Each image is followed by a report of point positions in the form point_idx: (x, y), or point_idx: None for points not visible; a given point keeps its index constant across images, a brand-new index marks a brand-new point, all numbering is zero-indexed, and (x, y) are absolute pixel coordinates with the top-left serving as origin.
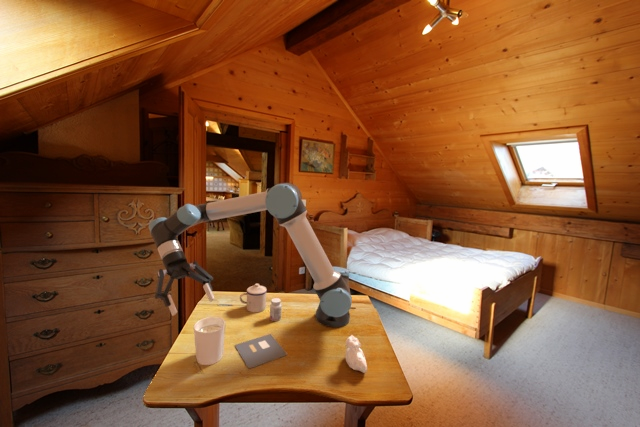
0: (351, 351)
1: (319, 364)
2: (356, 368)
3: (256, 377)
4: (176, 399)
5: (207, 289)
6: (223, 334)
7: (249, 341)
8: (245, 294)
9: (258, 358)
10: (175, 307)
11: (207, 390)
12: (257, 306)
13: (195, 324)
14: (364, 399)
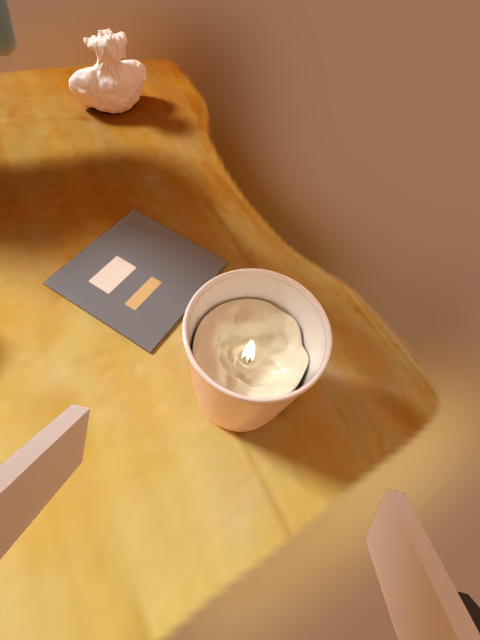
0: (120, 68)
1: (140, 152)
2: (141, 90)
3: (242, 237)
4: (397, 348)
5: (13, 497)
6: (231, 296)
7: (112, 320)
8: None
9: (181, 259)
10: (403, 519)
11: (335, 305)
12: None
13: (297, 389)
14: (199, 94)
